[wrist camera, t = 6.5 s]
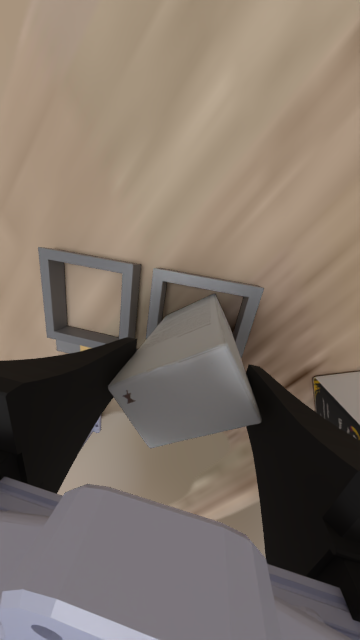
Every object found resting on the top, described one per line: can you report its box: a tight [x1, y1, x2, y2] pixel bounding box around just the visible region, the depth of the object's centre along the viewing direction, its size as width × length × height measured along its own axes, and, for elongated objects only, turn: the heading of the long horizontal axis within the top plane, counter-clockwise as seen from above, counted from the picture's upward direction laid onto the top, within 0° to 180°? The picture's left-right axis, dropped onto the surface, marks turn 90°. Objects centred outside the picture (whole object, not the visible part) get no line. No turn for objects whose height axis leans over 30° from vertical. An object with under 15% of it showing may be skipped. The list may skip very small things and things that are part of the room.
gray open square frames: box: [38, 247, 264, 358], centre depth 19 cm, size 12×22×2 cm, turn 81°
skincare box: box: [108, 294, 262, 448], centre depth 13 cm, size 6×4×12 cm
